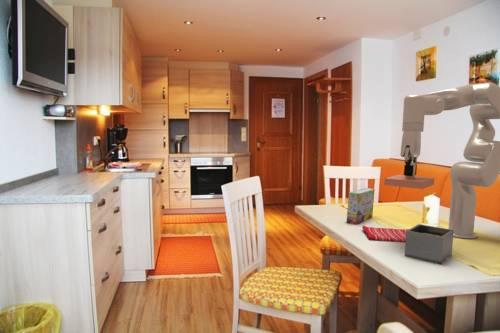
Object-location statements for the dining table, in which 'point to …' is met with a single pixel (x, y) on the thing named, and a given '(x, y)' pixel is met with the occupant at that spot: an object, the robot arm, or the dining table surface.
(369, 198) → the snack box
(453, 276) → the dining table surface
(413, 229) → the tin
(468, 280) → the dining table surface
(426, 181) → the lid
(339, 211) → the dining table surface
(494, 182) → the robot arm
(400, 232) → the dish towel
